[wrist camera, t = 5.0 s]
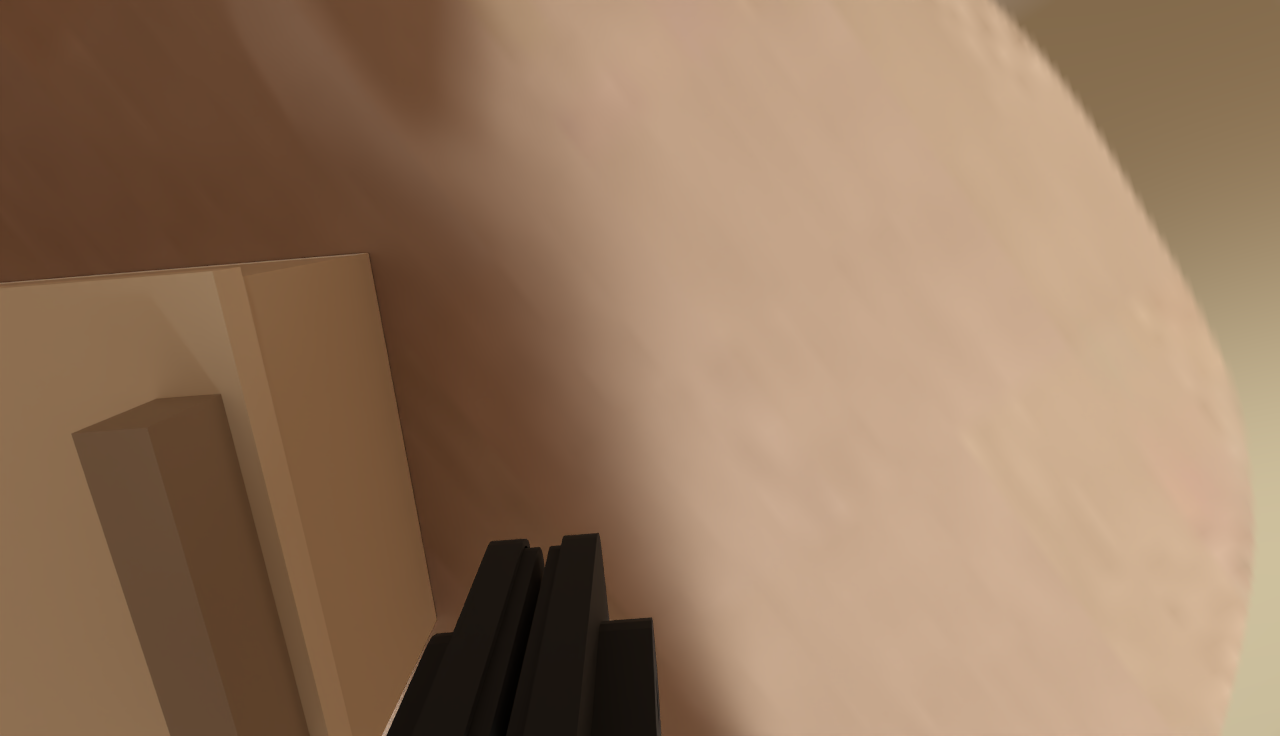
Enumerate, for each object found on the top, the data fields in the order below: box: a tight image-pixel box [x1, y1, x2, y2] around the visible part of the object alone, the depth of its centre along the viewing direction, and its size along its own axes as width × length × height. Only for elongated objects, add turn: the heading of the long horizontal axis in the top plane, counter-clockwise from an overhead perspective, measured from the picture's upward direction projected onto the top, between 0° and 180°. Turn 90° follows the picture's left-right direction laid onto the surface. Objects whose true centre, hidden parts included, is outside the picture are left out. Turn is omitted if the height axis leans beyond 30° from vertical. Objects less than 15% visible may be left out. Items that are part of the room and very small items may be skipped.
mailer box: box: [0, 253, 437, 736], centre depth 17 cm, size 16×12×6 cm
